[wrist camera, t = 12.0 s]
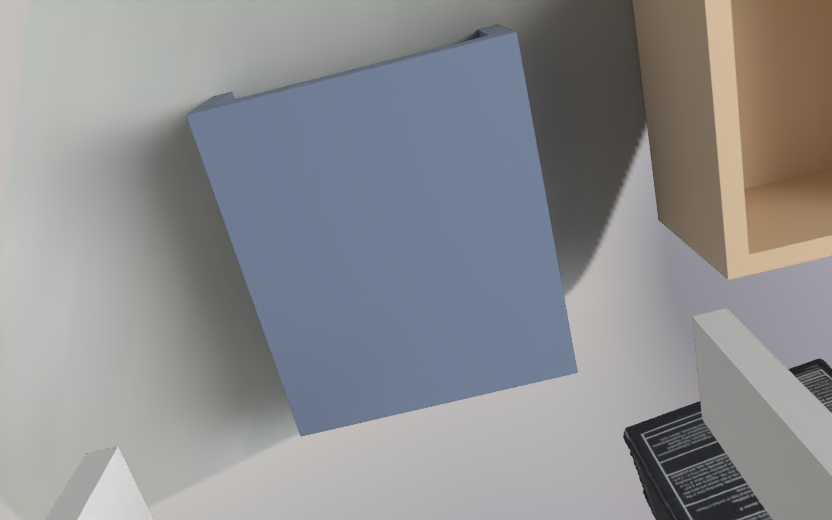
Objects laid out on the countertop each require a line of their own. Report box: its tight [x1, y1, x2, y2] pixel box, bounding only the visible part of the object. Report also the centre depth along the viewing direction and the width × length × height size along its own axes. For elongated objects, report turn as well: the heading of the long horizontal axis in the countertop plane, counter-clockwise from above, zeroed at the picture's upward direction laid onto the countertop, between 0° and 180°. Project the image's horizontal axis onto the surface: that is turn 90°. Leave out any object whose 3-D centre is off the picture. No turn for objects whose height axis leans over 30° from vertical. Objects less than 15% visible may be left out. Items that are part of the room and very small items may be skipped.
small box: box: [623, 359, 832, 520], centre depth 32 cm, size 11×6×10 cm, turn 112°
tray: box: [632, 0, 832, 280], centre depth 27 cm, size 12×9×7 cm
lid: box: [186, 25, 577, 436], centre depth 30 cm, size 14×12×5 cm
